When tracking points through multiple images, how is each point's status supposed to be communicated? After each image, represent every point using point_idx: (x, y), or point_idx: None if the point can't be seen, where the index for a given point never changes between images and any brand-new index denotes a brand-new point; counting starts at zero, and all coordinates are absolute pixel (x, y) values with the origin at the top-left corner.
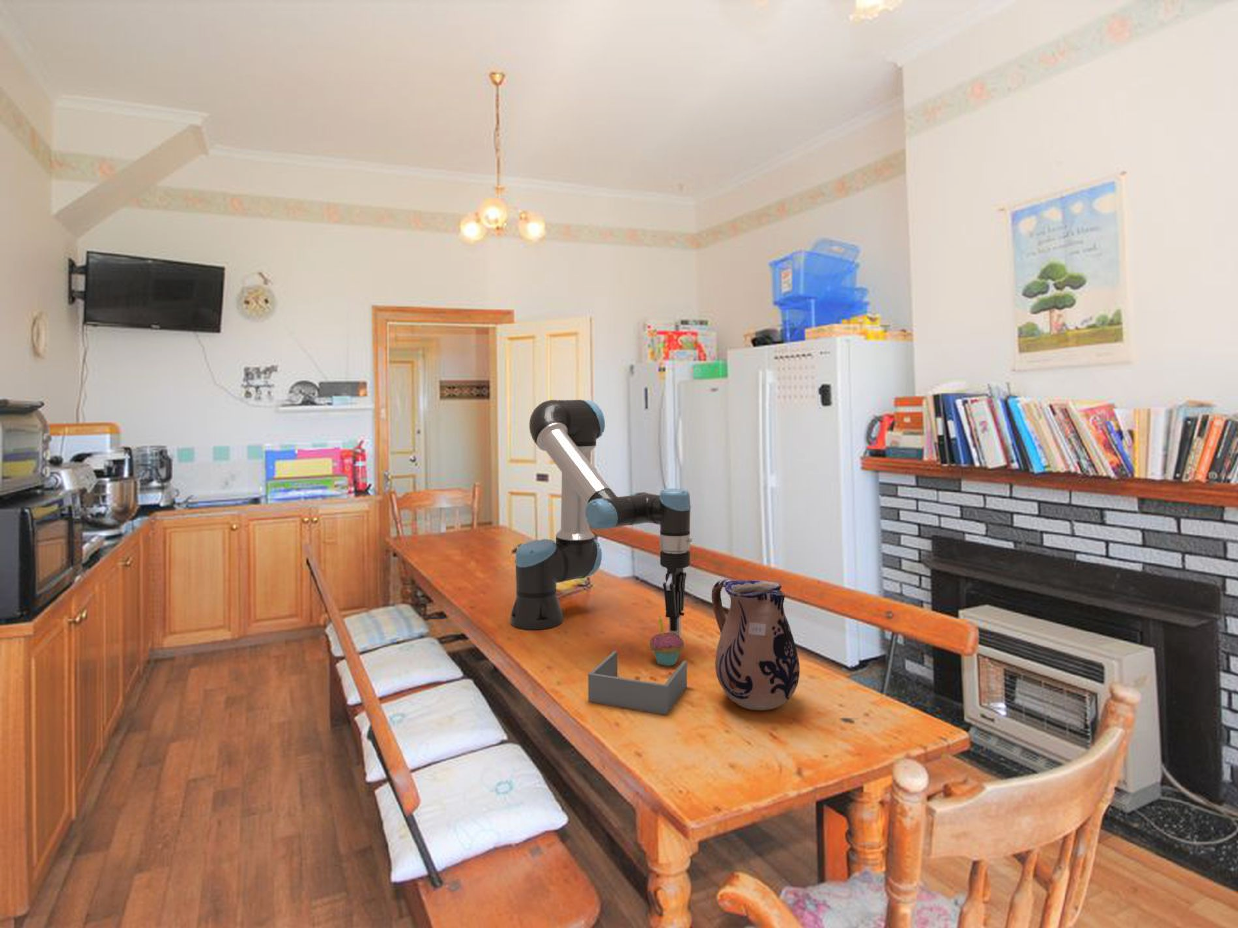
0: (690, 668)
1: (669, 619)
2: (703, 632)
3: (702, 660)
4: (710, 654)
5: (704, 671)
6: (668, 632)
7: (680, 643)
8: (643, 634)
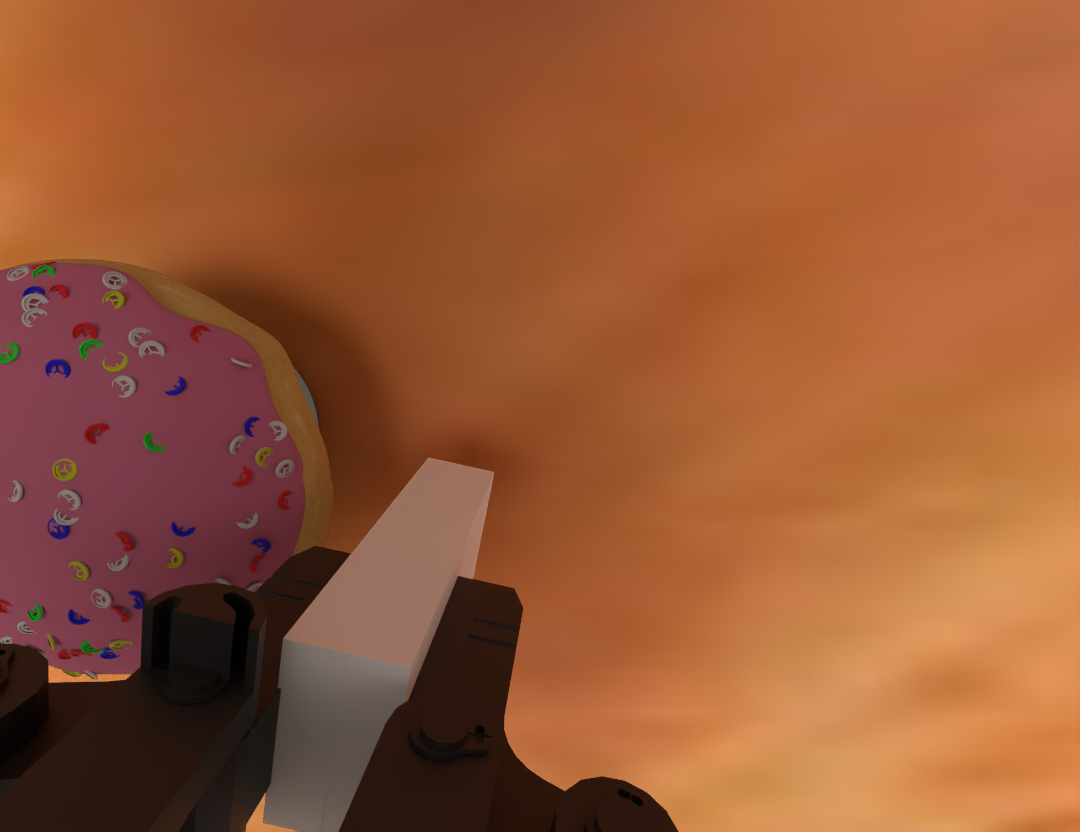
0: None
1: (304, 615)
2: (1070, 709)
3: None
4: None
5: None
6: (128, 539)
7: None
8: (1034, 66)
